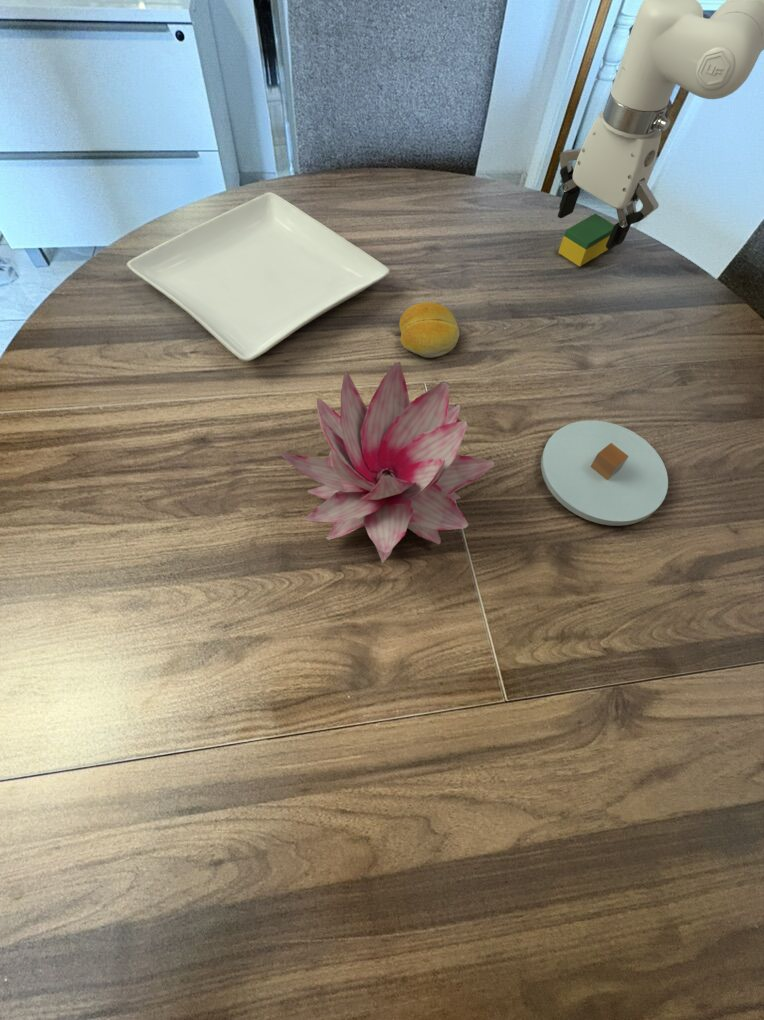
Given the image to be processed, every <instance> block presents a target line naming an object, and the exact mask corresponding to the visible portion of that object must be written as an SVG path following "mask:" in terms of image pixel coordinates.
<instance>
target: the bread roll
mask: <svg viewBox="0 0 764 1020" xmlns="http://www.w3.org/2000/svg"><path fill="white" fill-rule="evenodd" d="M398 325H399V330H400V333H401V335H400V343H401V346H403V348H404V349H405V350H406V351H409V352H411V353H413V354H416V355H418V356H420V357H422V358H428V359H429V358H430V359H432V358H433V359H434V358H438V357H442V356H444V355H446V354H448V353H450V352H451V351H452V350H453V349H454V348H455V347H456V345H457V344H458V341H459V338H460V329H459V326H458V323H457V319H456V317H455V316H454V314H453V313H452V312H451V310H450V309H449V308H448V307H446V306H445V305H442V304H441V303H437V302H432V301H426V302H420V303H419V302H418V303H416V304H413V305H411V306H409V307H407V308H406V309H405V310H404V312H403V313H402V314H401V316H400V319H399V323H398Z"/></svg>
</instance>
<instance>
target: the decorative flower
mask: <svg viewBox="0 0 764 1020" xmlns="http://www.w3.org/2000/svg"><path fill="white" fill-rule="evenodd" d="M405 378H406V377H405V375H404V372H403V368H402V364H401V362H400V361H399V362H398V361H397V362H394V363H393V364H392V366H391V367H390V368H389V370H388V371H387V372H386V374H385V375H384V377H383V378H381V381H380V382H379V384H378V387H377V389H376V390H375V391H374V394H373V396H372V397H371V399H370V401H369V404H368V407H367V406H366V404H365V402H364V399H362V397H361V395H360V393H359V391H358V389H357V387H356V385H355V383H354V381H353V379H352V378H351V375H350V374H349V372H348V371H344V373H343V378H342V383H341V390H340V414H339V413H338V412H336V411H335V410H334V409H333V408H332V407H331V406H330V405H328V404H327V403H326V402H325V401H324V400H323V399H321V398H320V397H319V398H318V397H317V398H316V409H317V417H318V423H319V426H320V429H321V431H322V433H323V436H324V438H325V440H326V441H327V444H328V446H329V447H330V449H331V450H330V451H329V454H328V456H327V458H326V457H325V458H324V457H314V456H306V455H300V454H299V455H298V454H293V453H287V452H280V454H279V455H280V456H281V457H282V458H283V459H284V460H286V461H287V462H288V464H290V465H291V466H292V467H294V468H295V469H296V470H297V471H298V472H300V473H301V474H303V475H305V476H306V477H308V478H310V479H312V480H314V481H316V482H317V483H318V484H320V485H321V486H317V487H315V488H311V489H308V490H307V494H311V495H313V496H316V497H318V498H321V499H323V500H325V501H324V502H322V503H321V504H320V505H318V507H316V508H314V510H312V511H311V512H310V513H309V514H307V516H305V517H304V518H303V519H304V520H305V521H307V522H313V523H320V524H325V523H327V524H330V523H334V524H333V525H332V527H331V529H330V531H329V532H328V534H327V536H326V538H325V540H328V541H330V540H333V539H336V538H340V537H343V536H347V535H348V534H350V533H352V532H354V531H356V530H358V529H360V528H361V527H365V530H366V532H367V535H368V537H369V538H370V540H371V541H372V543H373V544H374V547H375V549H376V551H377V554H378V556H379V558H380V561H381V563H382V564H384V562H385V561H386V560H387V559H388V558H389V557H390V555H391V554H392V551H393V549H394V548H395V546H397V544H398V543H399V542H400V541H401V540H402V538H403V537H405V535H406V533H407V529H408V530H410V531H411V532H413V533H414V534H416V535H417V536H418V537H421V538H423V539H425V540H428V541H430V542H432V543H434V544H437V545H440V544H441V543H442V539H441V537H440V533H439V531H447V530H449V531H451V530H461V529H466V528H467V527H469V523H468V521H467V519H466V518H465V517H466V516H465V515H464V514H463V513H464V512H462V511H461V509H460V508H459V506H458V505H457V504H456V502H455V501H457V500H460V499H461V496H460V495H458V494H457V493H456V491H458V490H460V489H462V488H464V487H466V486H467V485H469V484H471V483H472V482H475V481H477V480H478V479H479V478H481V477H482V476H483V475H485V474H486V473H487V472H489V471H490V470H491V469H492V468H493V467H494V466H495V462H494V461H493V460H490V459H485V458H479V457H473V456H469V455H465V454H464V455H462V454H461V455H460V454H458V453H459V450H460V447H461V444H462V441H463V439H464V436H465V433H466V430H467V428H468V423H467V420H460V421H458V419H459V415H460V410H461V405H460V404H458V403H457V404H455V405H452V406H450V387H449V385H450V384H449V382H447V381H444V380H442V382H440V383H438V384H436V385H435V386H433V387H432V388H430V389H429V390H427V391H425V392H424V393H422V394H421V395H419V396H418V397H416V398H415V399H414V400H413V401H412V402H411V401H410V397H409V391H408V386H407V381H406V379H405Z"/></svg>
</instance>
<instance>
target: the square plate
mask: <svg viewBox="0 0 764 1020" xmlns="http://www.w3.org/2000/svg"><path fill="white" fill-rule="evenodd" d="M125 265H126V267H127V268H128V269H129V270H130V271H131V272H132V273H133V274H134V275H136V276H137V277H139V278H140V279H141V280H142V281H144V282H146V283H147V284H149V285H150V286H152V287H153V288H154V289H155V290H157V291H159V292H160V293H161V294H163V295H164V296H165V297H166V298H168V299H169V300H171V301H172V302H173V303H174V304H176V305H177V306H178V307H179V308H181V309H182V310H183V311H185V313H187V314H188V315H189V316H190V317H192V318H193V319H194V320H195V321H196V322H197V323H198V324H200V325H201V327H203V328H204V329H205V330H206V331H207V332H208V333H209V334H211V336H213V337H214V338H215V339H216V340H217V341H218V342H219V343H220V344H221V345H222V346H223V347H224V348H226V349H227V350H228V351H229V352H230V353H231V354H233V355H234V356H235V357H237V359H239V360H240V361H242V362H249V361H253V360H254V359H257V358H258V357H260V356H261V355H263V354H264V353H267V352H268V351H269V350H270V349H272V348H273V347H275V346H276V345H278V344H279V343H281V342H282V341H283V340H284V339H286V338H288V337H289V336H290V335H292V334H293V333H295V332H296V331H298V330H299V329H301V328H302V327H304V326H306V325H307V324H309V323H310V322H312V321H314V320H315V319H317V318H319V317H320V316H321V315H323V314H325V313H326V312H328V311H331V310H332V309H333V308H335V307H337V306H339V305H340V304H342V303H344V302H345V301H348V300H349V299H352V298H353V297H355V296H357V295H358V294H360V293H361V292H363V291H365V290H366V289H368V288H369V287H371V286H373V285H374V284H376V283H378V282H379V281H381V280H383V279H385V277H387V276H388V275H389V274H390V273H391V272H390V271H391V270H390V269H389V267H388V266H386V265H385V264H384V263H382V262H380V261H379V260H377V259H376V258H374V257H373V256H372V255H370V254H369V253H367V252H366V251H364V250H363V249H361V248H359V247H358V246H357V245H355V244H353V243H352V242H350V241H349V240H347V239H346V238H344V237H343V236H342V235H340V234H338V233H337V232H335V231H334V230H332V229H330V228H329V227H328V226H326V225H324V224H323V223H321V222H320V221H318V220H317V219H315V218H313V217H312V216H310V215H309V214H307V213H306V212H305V211H303V210H301V209H300V208H298V207H297V206H295V205H293V204H292V203H290V202H289V201H287V200H285V199H284V198H283V197H281V196H279V195H278V194H276V193H275V192H271V191H269V192H265V193H262V194H261V195H258V196H257V197H254V198H252V199H250V200H247V201H245V202H243V203H241V204H240V205H237V206H235V207H233V208H231V209H229V210H227V211H224V212H222V213H220V214H219V215H217V216H214V217H213V218H210V219H208V220H206V221H204V222H202V223H200V224H198V225H196V226H194V227H192V228H190V229H188V230H186V231H184V232H182V233H180V234H178V235H176V236H174V237H172V238H170V239H168V240H166V241H164V242H162V243H160V244H158V245H157V246H154V247H152V248H150V249H149V250H146V251H144V252H143V253H140V254H138V255H137V256H135V257H133V258H131V259H130V260H128V261H127V262H126V264H125Z"/></svg>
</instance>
